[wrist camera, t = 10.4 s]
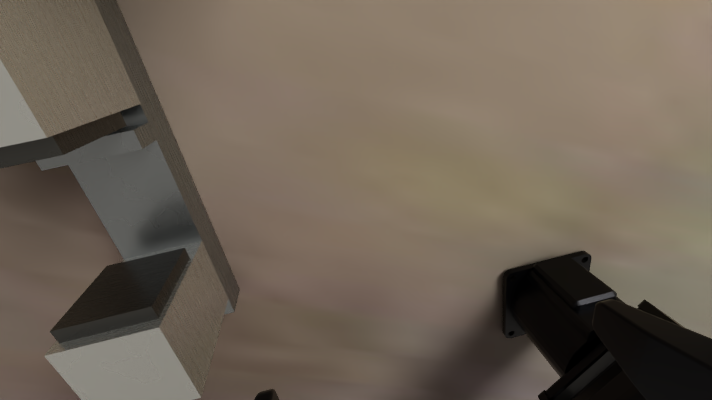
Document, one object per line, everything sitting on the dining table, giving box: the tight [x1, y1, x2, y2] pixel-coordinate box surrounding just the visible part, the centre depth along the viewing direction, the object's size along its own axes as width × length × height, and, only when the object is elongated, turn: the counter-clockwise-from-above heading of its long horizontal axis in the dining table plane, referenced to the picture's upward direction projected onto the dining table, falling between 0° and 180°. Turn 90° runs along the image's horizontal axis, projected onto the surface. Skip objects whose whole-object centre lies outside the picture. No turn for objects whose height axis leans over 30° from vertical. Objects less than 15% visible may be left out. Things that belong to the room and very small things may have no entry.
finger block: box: [0, 0, 141, 168], centre depth 11 cm, size 5×4×6 cm
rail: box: [36, 0, 240, 400], centre depth 14 cm, size 18×4×8 cm, turn 10°
